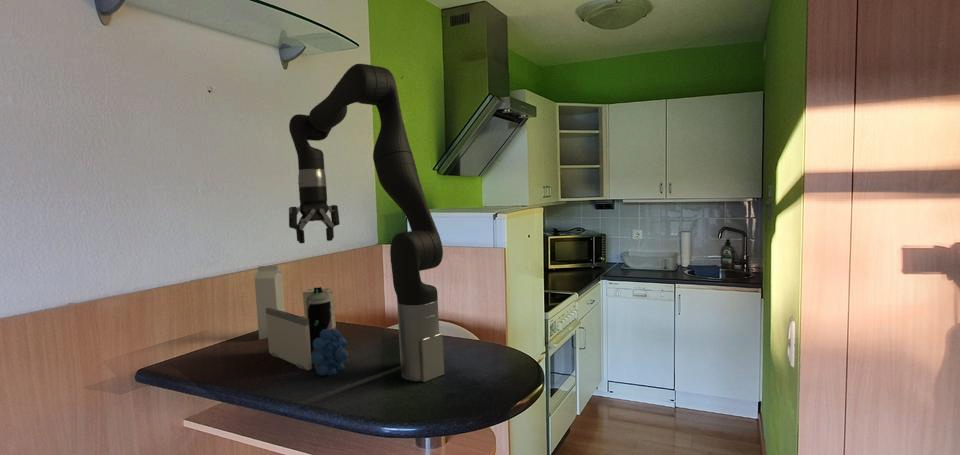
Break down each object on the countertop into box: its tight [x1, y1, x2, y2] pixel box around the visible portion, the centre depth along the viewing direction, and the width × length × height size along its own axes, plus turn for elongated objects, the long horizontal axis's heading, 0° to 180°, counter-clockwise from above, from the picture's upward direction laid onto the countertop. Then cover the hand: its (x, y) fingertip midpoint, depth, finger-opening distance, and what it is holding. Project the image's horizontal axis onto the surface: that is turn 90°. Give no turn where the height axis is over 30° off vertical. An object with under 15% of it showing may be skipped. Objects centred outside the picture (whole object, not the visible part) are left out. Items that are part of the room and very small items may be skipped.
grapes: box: [311, 328, 350, 376], centre depth 113 cm, size 12×7×12 cm, turn 158°
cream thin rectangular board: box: [266, 307, 313, 371], centre depth 123 cm, size 21×1×13 cm, turn 47°
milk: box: [254, 265, 286, 340], centre depth 149 cm, size 6×6×22 cm
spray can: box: [307, 286, 332, 366], centre depth 121 cm, size 6×6×20 cm
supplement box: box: [302, 287, 337, 329], centre depth 155 cm, size 8×5×13 cm, turn 84°
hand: (316, 241), depth 143 cm, fingers open, 8 cm apart
